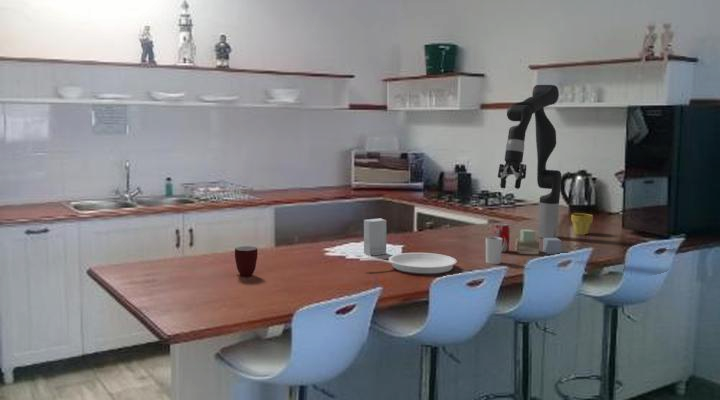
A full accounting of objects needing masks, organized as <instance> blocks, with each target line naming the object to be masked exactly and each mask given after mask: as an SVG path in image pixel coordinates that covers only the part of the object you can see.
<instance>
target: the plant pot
mask: <svg viewBox="0 0 720 400" xmlns="http://www.w3.org/2000/svg"><path fill="white" fill-rule="evenodd" d="M593 218H594V216H593V214H590V213H589V214H588V213H581V212H580V213H578V212H577V213H572V214H571V217H570V219H571V222H572V228H573V233H574V234H575V235H579V236H581V235H582V236H585V234H587V235H588V234H589V231H590V227H591V225H592V223H593V222H594V221H593V220H594V219H593Z"/></svg>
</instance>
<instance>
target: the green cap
mask: <svg viewBox="0 0 720 400" xmlns="http://www.w3.org/2000/svg"><path fill="white" fill-rule="evenodd" d="M519 239H520V241H522V242H535V240H536V231H535V230H533V229H523V228H522V229H520V232H519Z"/></svg>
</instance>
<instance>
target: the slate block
mask: <svg viewBox="0 0 720 400" xmlns="http://www.w3.org/2000/svg"><path fill="white" fill-rule="evenodd" d="M542 252H544V253H545V254H547V255H557V254H556V253H562V240H561V239H559V238H558V237H557V238H542Z"/></svg>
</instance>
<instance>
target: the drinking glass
mask: <svg viewBox="0 0 720 400" xmlns="http://www.w3.org/2000/svg"><path fill="white" fill-rule="evenodd" d="M501 250H502V238H500V237H493V236H486V237H485V263H486V264H489V263H490V264H489V265H499V264H501V260H502V252H501Z"/></svg>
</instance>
